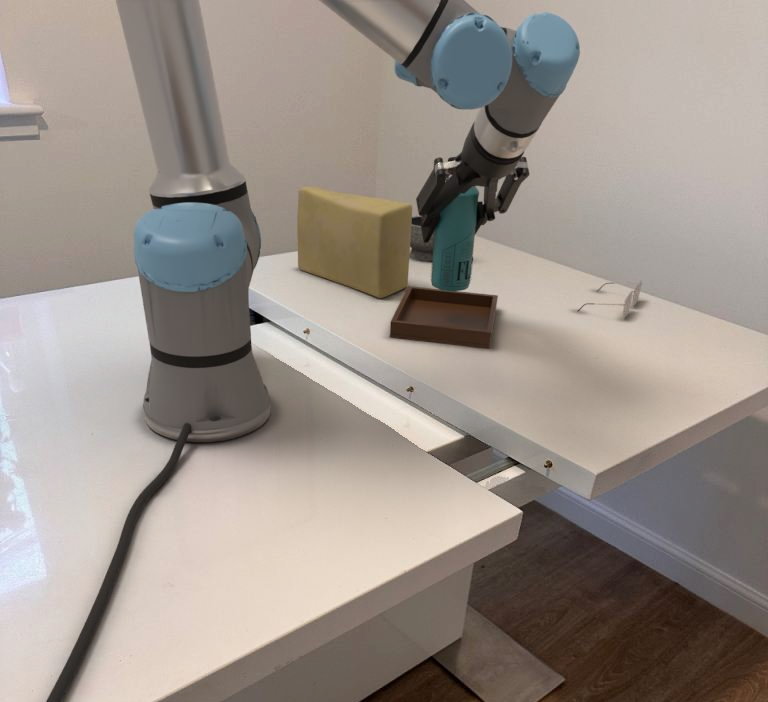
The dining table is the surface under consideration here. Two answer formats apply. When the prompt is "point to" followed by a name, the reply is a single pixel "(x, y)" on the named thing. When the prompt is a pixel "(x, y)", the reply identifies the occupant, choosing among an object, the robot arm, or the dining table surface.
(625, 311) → the eyeglasses
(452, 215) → the beverage bottle
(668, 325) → the dining table surface
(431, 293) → the tray
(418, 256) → the mortar and pestle
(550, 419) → the dining table surface
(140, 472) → the dining table surface
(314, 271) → the cheese
